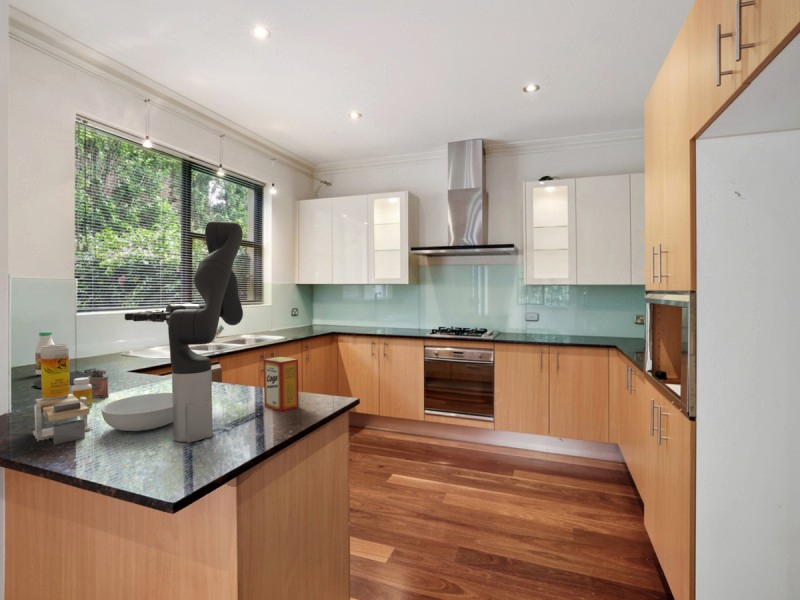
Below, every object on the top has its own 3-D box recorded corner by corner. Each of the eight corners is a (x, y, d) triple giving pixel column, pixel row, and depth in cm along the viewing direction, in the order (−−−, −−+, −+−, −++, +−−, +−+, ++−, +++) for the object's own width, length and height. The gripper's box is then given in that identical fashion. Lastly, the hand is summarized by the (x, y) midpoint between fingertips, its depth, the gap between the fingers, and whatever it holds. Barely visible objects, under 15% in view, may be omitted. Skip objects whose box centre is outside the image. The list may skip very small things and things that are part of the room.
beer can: (53, 401, 112) (52, 347, 112) (36, 400, 114) (34, 346, 113) (75, 395, 118) (74, 344, 118) (58, 394, 119) (57, 343, 119)
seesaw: (89, 414, 106) (89, 402, 106) (49, 422, 100) (48, 409, 100) (71, 399, 120) (71, 388, 120) (35, 405, 114) (35, 393, 114)
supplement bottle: (95, 407, 134) (94, 378, 134) (75, 411, 130) (74, 381, 130) (88, 404, 137) (87, 376, 137) (69, 408, 133) (68, 379, 133)
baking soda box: (264, 406, 133) (263, 358, 133) (281, 402, 138) (280, 355, 138) (281, 411, 127) (280, 361, 127) (298, 407, 132) (297, 358, 132)
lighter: (84, 397, 147) (84, 370, 147) (93, 395, 150) (93, 368, 150) (102, 398, 145) (101, 371, 145) (111, 396, 148) (110, 369, 148)
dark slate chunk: (30, 386, 168) (29, 374, 168) (94, 377, 185) (94, 366, 185) (39, 391, 159) (38, 379, 159) (105, 381, 176) (105, 370, 176)
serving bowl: (81, 437, 106) (80, 411, 106) (142, 413, 127) (142, 391, 127) (153, 441, 103) (153, 414, 103) (204, 415, 124) (203, 393, 124)
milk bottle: (41, 373, 193) (40, 331, 192) (60, 372, 195) (59, 330, 194) (32, 376, 185) (30, 332, 185) (52, 375, 188) (51, 332, 187)
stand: (96, 435, 107) (95, 403, 107) (41, 447, 99) (40, 413, 99) (83, 423, 117) (83, 394, 117) (32, 434, 109) (31, 403, 109)
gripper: (175, 303, 145) (121, 305, 132) (191, 304, 135) (135, 305, 123) (175, 324, 145) (122, 328, 133) (192, 326, 135) (136, 330, 123)
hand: (128, 317), depth 128 cm, fingers open, 8 cm apart
